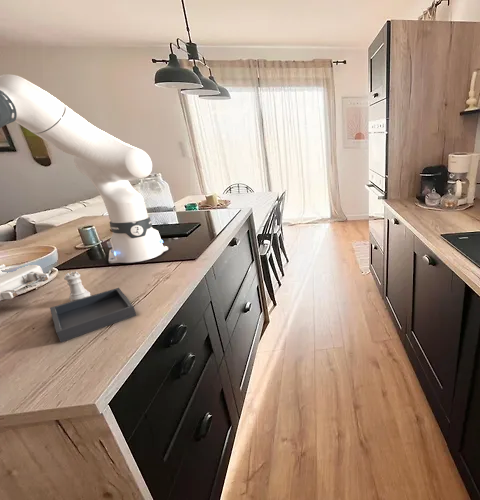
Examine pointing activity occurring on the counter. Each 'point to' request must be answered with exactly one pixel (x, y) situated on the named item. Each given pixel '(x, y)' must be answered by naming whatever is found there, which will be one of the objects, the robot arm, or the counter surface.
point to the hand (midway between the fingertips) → (31, 285)
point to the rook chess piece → (76, 287)
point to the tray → (91, 313)
